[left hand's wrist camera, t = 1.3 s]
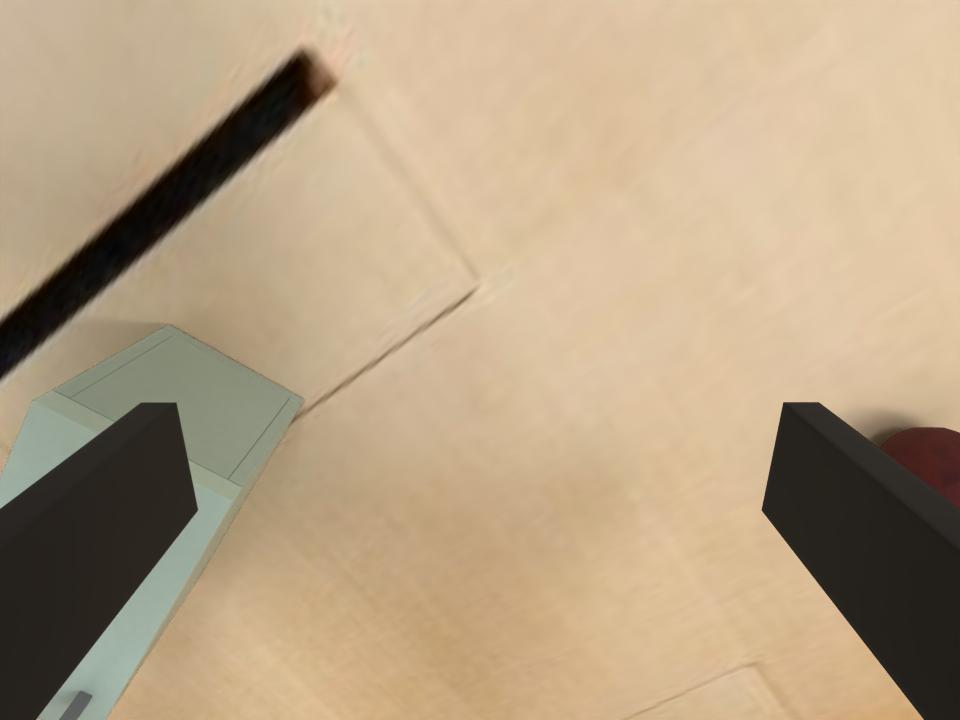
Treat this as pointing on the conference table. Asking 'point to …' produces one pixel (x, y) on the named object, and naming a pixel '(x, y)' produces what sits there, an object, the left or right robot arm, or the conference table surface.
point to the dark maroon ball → (930, 458)
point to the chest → (194, 412)
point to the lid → (119, 650)
